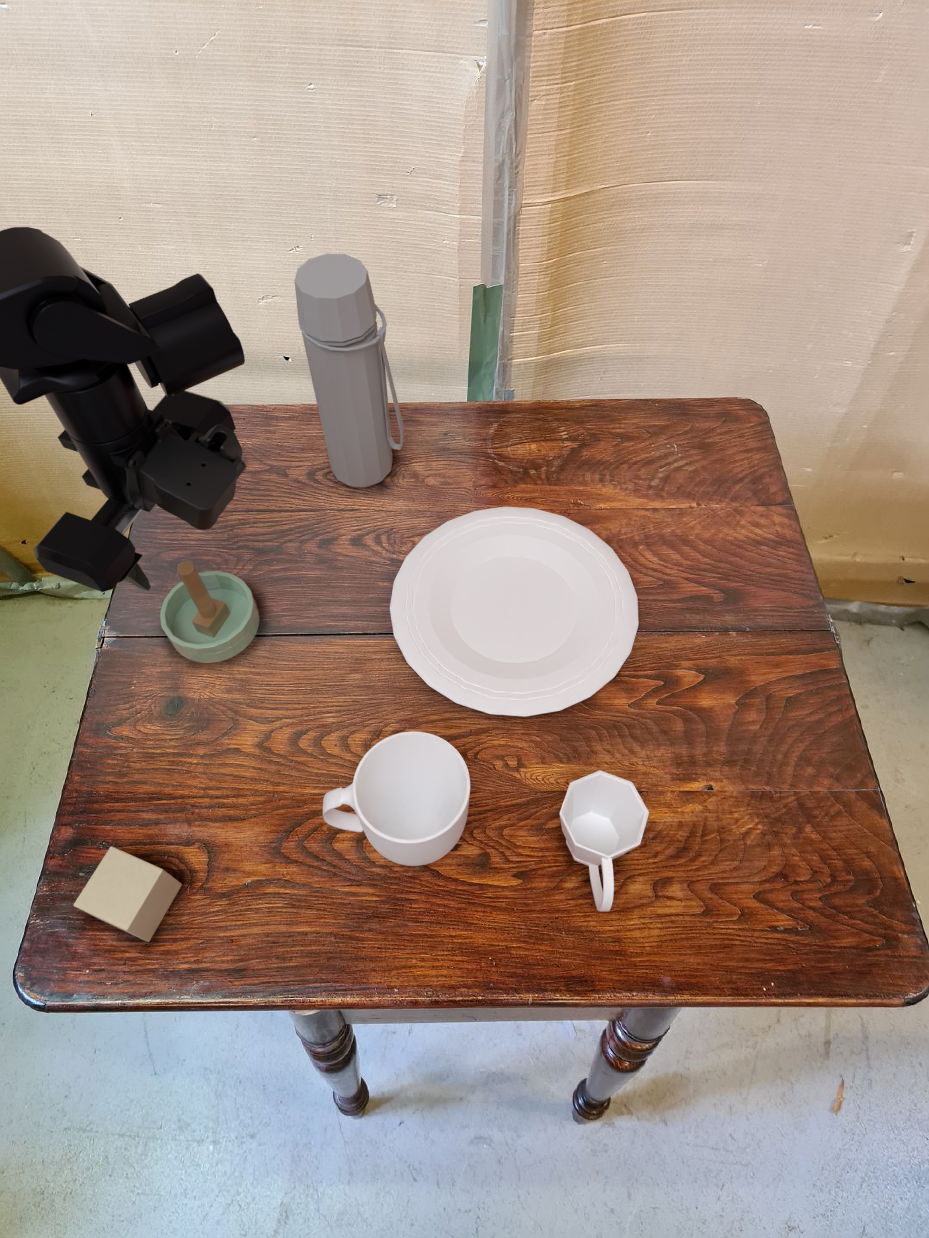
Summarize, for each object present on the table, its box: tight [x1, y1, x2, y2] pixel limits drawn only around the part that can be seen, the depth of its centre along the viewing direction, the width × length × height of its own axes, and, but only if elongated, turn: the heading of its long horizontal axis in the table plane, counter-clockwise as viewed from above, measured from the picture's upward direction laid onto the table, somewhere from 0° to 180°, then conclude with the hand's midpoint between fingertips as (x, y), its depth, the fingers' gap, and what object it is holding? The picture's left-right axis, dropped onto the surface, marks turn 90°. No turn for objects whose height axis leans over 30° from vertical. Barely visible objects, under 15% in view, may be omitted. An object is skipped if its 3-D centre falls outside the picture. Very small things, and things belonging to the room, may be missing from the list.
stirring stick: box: [176, 560, 230, 638], centre depth 76 cm, size 2×3×10 cm, turn 158°
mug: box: [322, 730, 471, 867], centre depth 64 cm, size 12×9×12 cm
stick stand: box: [73, 845, 183, 943], centre depth 64 cm, size 5×5×5 cm
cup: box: [558, 769, 650, 912], centre depth 65 cm, size 7×10×8 cm
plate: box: [389, 506, 640, 718], centre depth 80 cm, size 25×25×2 cm
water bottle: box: [294, 253, 405, 488], centre depth 81 cm, size 9×8×25 cm
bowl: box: [159, 570, 260, 664], centre depth 79 cm, size 9×9×3 cm
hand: (174, 547), depth 70 cm, fingers open, 9 cm apart
